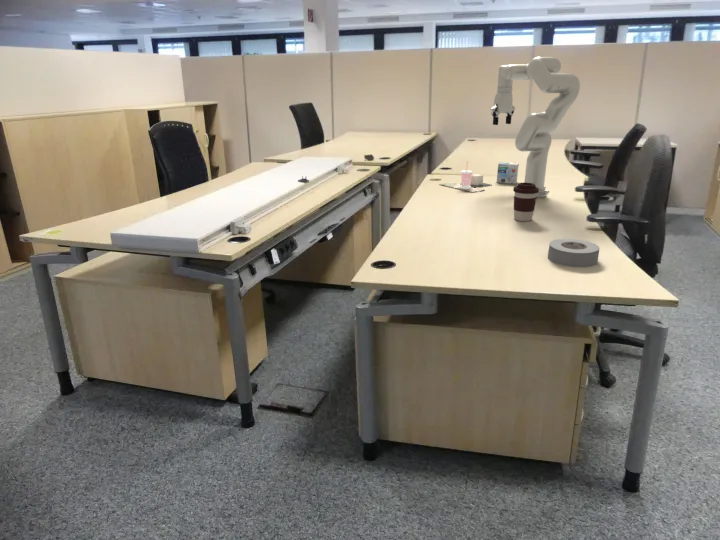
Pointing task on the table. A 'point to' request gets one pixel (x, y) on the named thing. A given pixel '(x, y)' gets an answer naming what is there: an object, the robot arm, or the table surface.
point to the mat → (480, 185)
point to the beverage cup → (466, 178)
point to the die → (477, 179)
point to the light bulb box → (507, 172)
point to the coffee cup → (524, 201)
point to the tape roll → (573, 252)
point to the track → (458, 186)
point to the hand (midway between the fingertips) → (501, 124)
